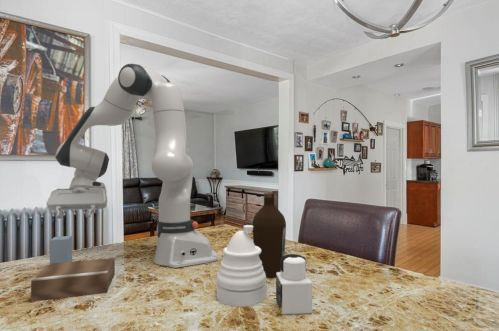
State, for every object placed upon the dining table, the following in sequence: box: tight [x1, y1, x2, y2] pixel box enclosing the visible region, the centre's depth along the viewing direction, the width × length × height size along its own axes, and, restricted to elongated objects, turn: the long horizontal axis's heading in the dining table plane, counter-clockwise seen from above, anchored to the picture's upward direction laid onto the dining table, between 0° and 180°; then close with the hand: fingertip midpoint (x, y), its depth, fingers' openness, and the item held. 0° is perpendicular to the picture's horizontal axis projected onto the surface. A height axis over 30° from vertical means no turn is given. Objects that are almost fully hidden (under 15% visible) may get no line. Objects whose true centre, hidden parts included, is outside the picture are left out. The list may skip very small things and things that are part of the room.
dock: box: [30, 257, 116, 302], centre depth 80 cm, size 17×14×5 cm
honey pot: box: [215, 224, 267, 308], centre depth 75 cm, size 13×13×18 cm
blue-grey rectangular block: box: [49, 235, 73, 265], centre depth 95 cm, size 5×5×10 cm
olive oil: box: [251, 192, 287, 278], centre depth 91 cm, size 11×11×25 cm
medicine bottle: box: [275, 253, 313, 315], centre depth 68 cm, size 7×7×12 cm
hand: (73, 217), depth 106 cm, fingers open, 8 cm apart
